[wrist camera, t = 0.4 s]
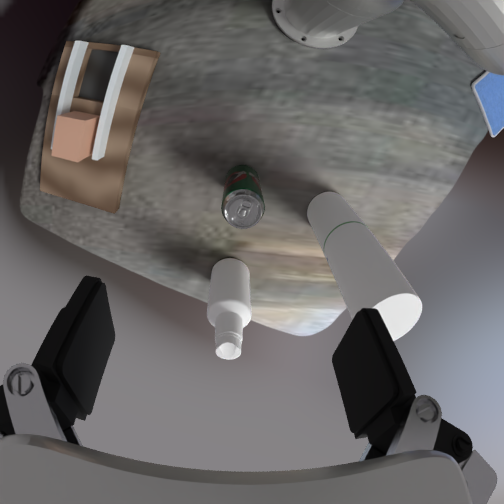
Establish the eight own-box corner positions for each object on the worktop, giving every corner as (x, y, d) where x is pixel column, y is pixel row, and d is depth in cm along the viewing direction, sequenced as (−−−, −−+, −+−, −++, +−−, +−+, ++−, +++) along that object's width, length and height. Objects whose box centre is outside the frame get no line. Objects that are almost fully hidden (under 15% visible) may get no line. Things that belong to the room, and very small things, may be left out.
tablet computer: (508, 50, 26) (512, 50, 25) (526, 99, 31) (530, 100, 30) (467, 84, 33) (472, 84, 32) (489, 138, 38) (493, 139, 37)
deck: (72, 42, 28) (66, 41, 26) (160, 53, 31) (156, 51, 29) (45, 186, 40) (39, 190, 38) (119, 208, 44) (114, 213, 42)
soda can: (220, 189, 43) (215, 224, 33) (232, 159, 41) (229, 185, 31) (251, 199, 44) (255, 237, 34) (263, 170, 42) (272, 200, 32)
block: (74, 110, 32) (57, 115, 28) (101, 116, 34) (85, 120, 29) (68, 147, 35) (51, 155, 31) (93, 153, 36) (77, 162, 32)
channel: (83, 41, 27) (75, 40, 25) (134, 47, 29) (128, 45, 27) (59, 145, 35) (50, 148, 33) (104, 156, 37) (97, 160, 35)
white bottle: (213, 287, 53) (205, 366, 38) (210, 257, 50) (199, 336, 35) (249, 287, 54) (253, 366, 38) (249, 256, 50) (254, 335, 35)
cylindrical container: (314, 236, 48) (363, 353, 27) (300, 201, 45) (352, 313, 24) (352, 221, 47) (422, 327, 26) (341, 185, 43) (421, 281, 22)
